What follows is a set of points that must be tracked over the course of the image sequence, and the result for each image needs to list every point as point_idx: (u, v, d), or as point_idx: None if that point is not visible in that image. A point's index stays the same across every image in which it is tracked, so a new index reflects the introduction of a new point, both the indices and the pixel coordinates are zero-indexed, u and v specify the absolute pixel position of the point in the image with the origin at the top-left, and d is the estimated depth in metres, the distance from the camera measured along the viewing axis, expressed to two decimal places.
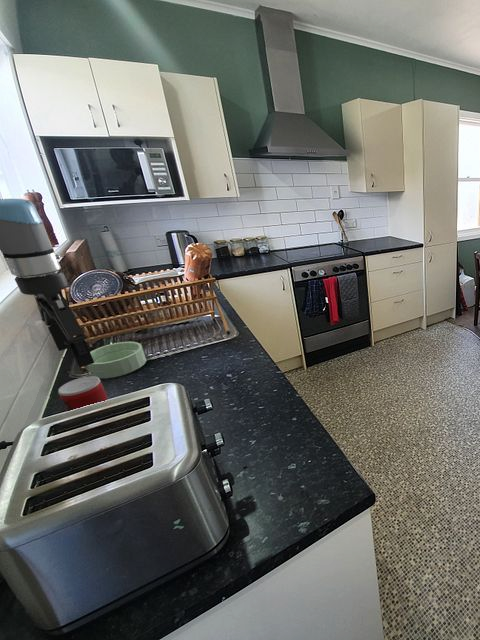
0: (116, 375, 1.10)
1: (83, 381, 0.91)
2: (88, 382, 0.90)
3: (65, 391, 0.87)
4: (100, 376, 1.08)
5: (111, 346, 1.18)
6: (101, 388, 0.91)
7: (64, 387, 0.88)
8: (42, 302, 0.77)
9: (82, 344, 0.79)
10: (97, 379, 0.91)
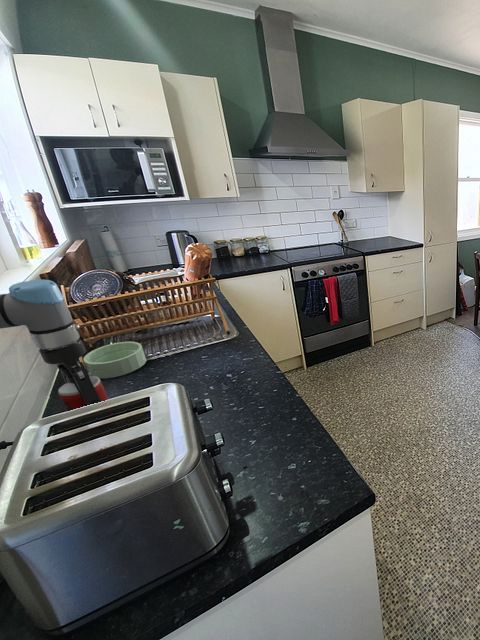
0: (116, 375, 1.10)
1: None
2: None
3: (65, 391, 0.87)
4: (100, 376, 1.08)
5: (111, 346, 1.18)
6: (101, 388, 0.91)
7: (64, 387, 0.88)
8: (63, 370, 0.84)
9: None
10: (97, 379, 0.91)
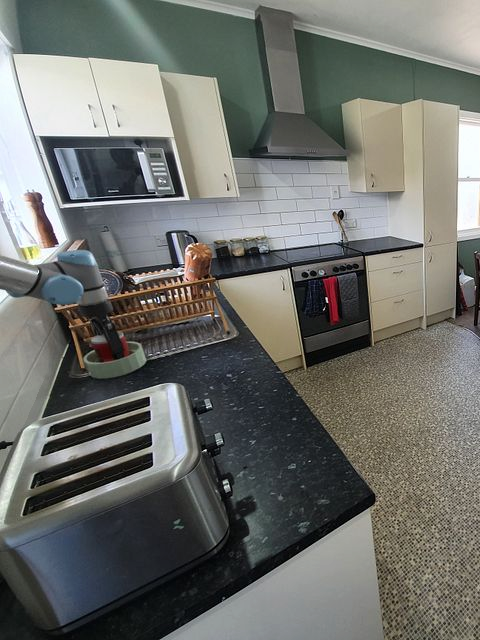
0: (116, 375, 1.10)
1: None
2: None
3: (96, 340, 1.08)
4: (100, 376, 1.08)
5: None
6: (124, 340, 1.13)
7: (95, 338, 1.10)
8: (96, 322, 1.06)
9: (121, 354, 1.10)
10: (121, 333, 1.13)
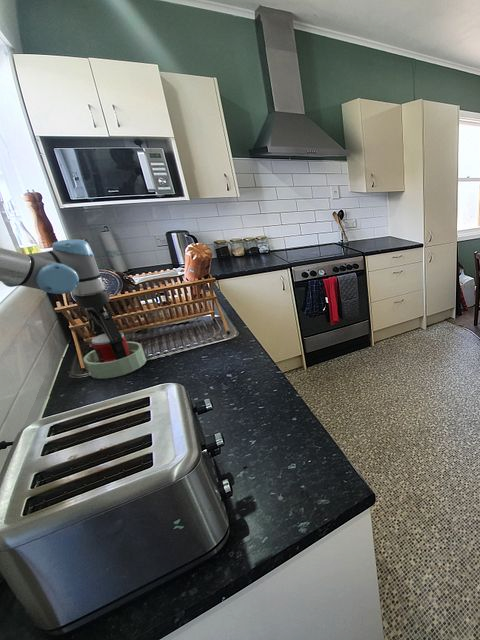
0: (116, 375, 1.10)
1: None
2: None
3: (97, 341, 1.09)
4: (100, 376, 1.08)
5: None
6: (125, 341, 1.13)
7: (96, 339, 1.10)
8: (92, 313, 1.05)
9: (120, 344, 1.08)
10: (121, 334, 1.13)
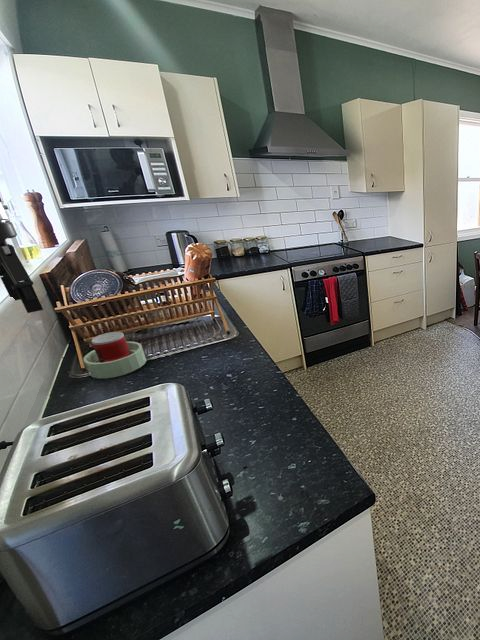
0: (116, 375, 1.10)
1: (110, 335, 1.13)
2: (114, 336, 1.12)
3: (97, 341, 1.09)
4: (100, 376, 1.08)
5: None
6: (125, 341, 1.13)
7: (96, 339, 1.10)
8: None
9: (29, 290, 0.84)
10: (121, 334, 1.13)
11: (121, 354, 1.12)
